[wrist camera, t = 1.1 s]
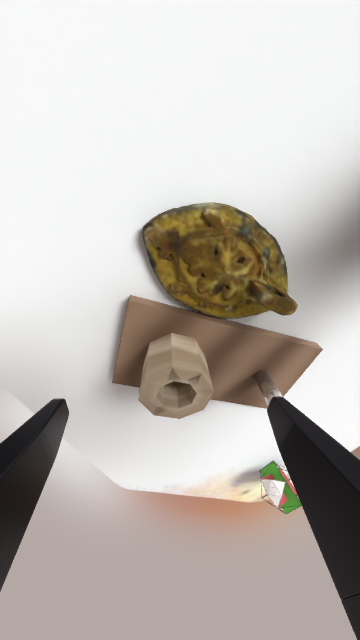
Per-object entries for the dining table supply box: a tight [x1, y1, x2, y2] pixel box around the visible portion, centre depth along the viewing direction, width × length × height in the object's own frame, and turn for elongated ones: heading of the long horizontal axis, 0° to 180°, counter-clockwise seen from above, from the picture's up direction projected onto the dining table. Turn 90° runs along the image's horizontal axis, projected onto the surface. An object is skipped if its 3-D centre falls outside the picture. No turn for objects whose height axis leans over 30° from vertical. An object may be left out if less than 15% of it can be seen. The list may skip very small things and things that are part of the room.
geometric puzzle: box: [260, 461, 302, 514], centre depth 36 cm, size 7×7×8 cm
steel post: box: [254, 370, 283, 405], centre depth 21 cm, size 2×2×7 cm
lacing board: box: [112, 295, 323, 408], centre depth 23 cm, size 22×11×1 cm, turn 73°
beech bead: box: [138, 333, 214, 419], centre depth 19 cm, size 6×6×5 cm
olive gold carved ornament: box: [142, 203, 298, 318], centre depth 17 cm, size 9×5×15 cm
